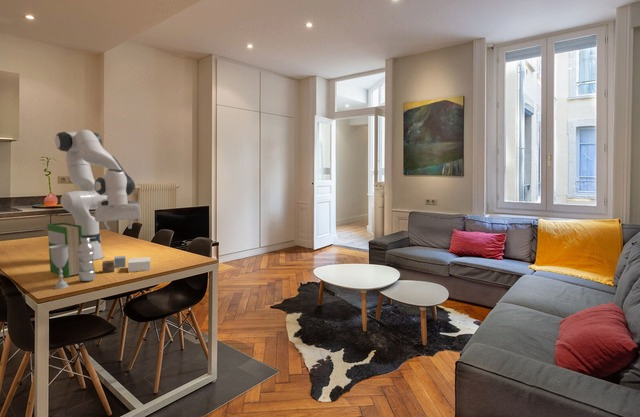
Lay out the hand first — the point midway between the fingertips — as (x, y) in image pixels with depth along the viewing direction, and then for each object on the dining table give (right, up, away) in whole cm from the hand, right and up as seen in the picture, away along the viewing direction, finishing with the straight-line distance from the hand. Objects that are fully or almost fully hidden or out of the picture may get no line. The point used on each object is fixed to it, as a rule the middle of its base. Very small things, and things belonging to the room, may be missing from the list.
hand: (119, 229), depth 184 cm
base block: (+6, -21, +7) cm, 23 cm away
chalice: (-12, -24, -24) cm, 36 cm away
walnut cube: (-6, -21, +2) cm, 22 cm away
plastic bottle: (-7, -23, -14) cm, 28 cm away
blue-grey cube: (-6, -20, +12) cm, 24 cm away
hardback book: (-25, -22, -2) cm, 33 cm away
